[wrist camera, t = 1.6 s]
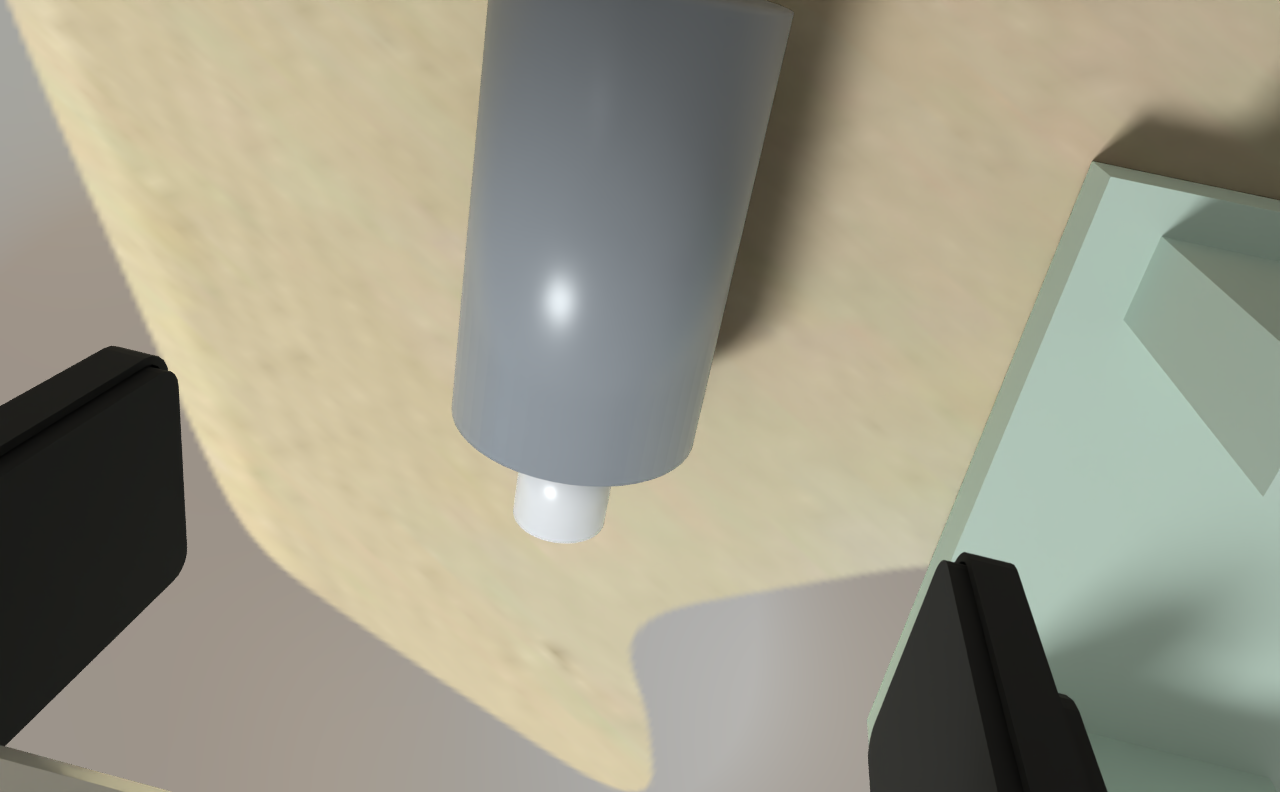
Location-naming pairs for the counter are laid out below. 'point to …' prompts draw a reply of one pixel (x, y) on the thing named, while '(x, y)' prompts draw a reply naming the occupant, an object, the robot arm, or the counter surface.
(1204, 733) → the cradle
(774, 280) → the counter surface
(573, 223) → the roll
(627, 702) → the counter surface
